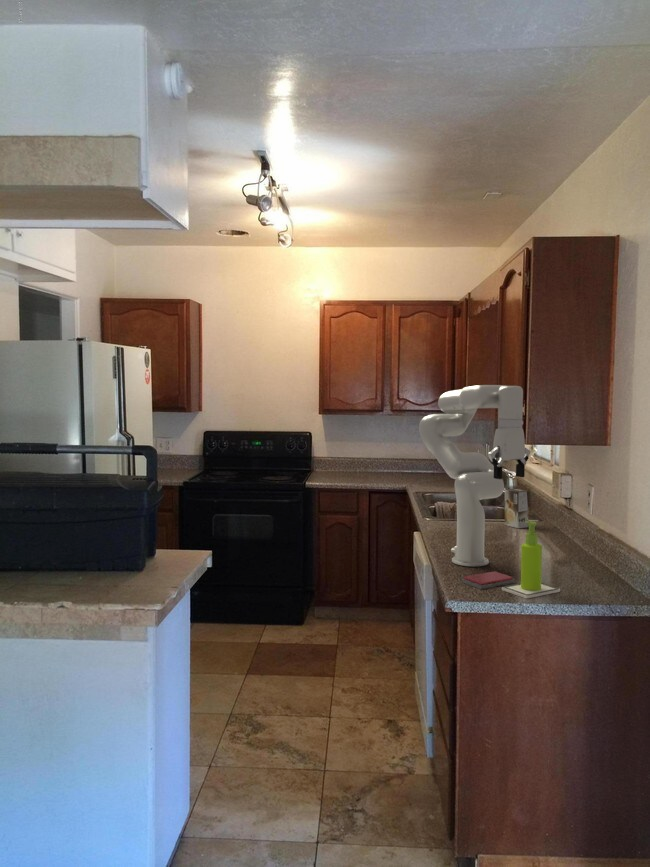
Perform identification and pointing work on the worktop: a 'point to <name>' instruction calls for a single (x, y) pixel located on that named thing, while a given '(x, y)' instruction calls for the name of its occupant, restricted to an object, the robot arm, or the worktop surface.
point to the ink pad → (488, 580)
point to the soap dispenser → (531, 560)
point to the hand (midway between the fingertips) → (509, 477)
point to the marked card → (526, 594)
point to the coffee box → (516, 508)
